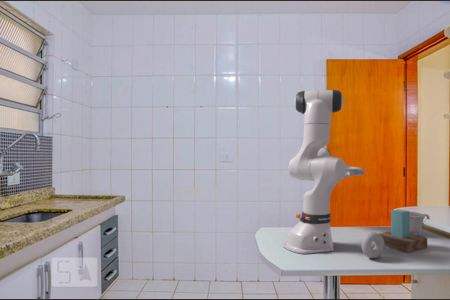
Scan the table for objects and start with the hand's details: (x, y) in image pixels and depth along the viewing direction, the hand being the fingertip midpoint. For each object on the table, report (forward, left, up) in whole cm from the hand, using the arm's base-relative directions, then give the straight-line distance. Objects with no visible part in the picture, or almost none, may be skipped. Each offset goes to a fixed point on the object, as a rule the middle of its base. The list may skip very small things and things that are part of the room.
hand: (357, 173), depth 148 cm
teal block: (0, -22, -26) cm, 34 cm away
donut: (-24, -27, -30) cm, 47 cm away
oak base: (0, -22, -30) cm, 37 cm away
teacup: (+22, -14, -30) cm, 40 cm away
